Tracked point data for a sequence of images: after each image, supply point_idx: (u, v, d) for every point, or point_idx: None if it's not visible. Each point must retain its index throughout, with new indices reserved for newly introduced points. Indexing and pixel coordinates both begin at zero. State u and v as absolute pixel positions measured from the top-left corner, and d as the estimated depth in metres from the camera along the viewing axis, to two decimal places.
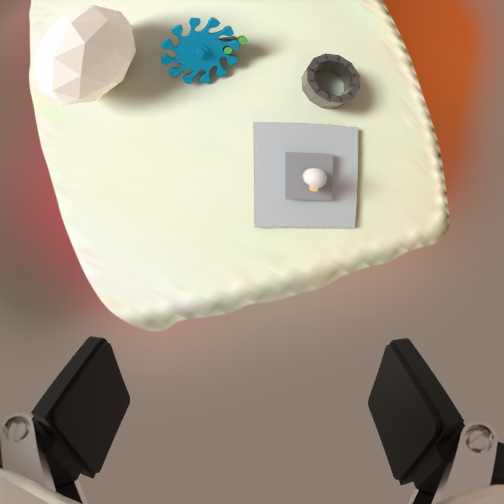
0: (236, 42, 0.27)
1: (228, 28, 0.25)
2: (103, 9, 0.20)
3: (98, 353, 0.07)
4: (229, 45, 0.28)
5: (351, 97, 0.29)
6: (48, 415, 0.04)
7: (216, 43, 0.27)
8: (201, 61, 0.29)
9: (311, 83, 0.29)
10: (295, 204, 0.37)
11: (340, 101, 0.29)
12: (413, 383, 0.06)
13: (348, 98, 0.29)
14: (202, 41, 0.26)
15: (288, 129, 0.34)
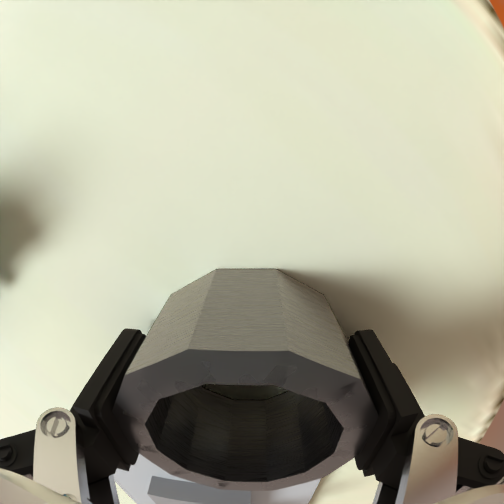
0: None
1: None
2: None
3: (136, 344, 0.08)
4: None
5: (312, 478, 0.07)
6: (92, 407, 0.05)
7: None
8: None
9: (149, 454, 0.06)
10: None
11: (266, 489, 0.07)
12: (370, 372, 0.07)
13: (299, 482, 0.07)
14: None
15: None
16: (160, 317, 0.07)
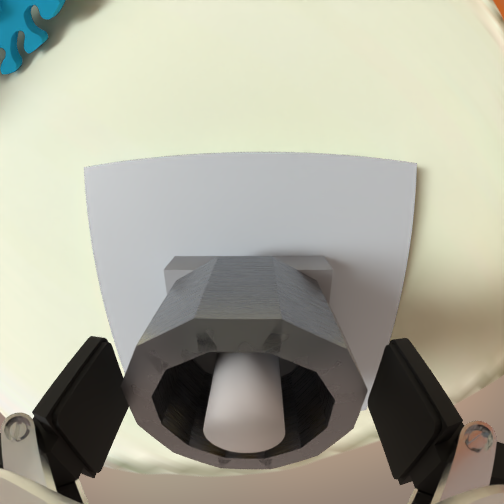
0: None
1: None
2: None
3: (99, 353, 0.07)
4: None
5: (308, 455, 0.08)
6: (49, 415, 0.04)
7: None
8: None
9: (154, 429, 0.07)
10: None
11: (264, 467, 0.08)
12: (412, 383, 0.06)
13: (295, 460, 0.08)
14: None
15: (181, 179, 0.10)
16: (167, 298, 0.08)
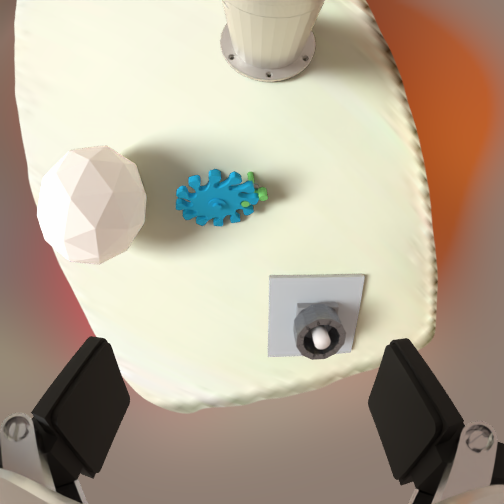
0: (255, 198, 0.33)
1: (250, 186, 0.31)
2: (102, 165, 0.25)
3: (98, 353, 0.07)
4: (248, 200, 0.33)
5: (334, 353, 0.37)
6: (48, 415, 0.04)
7: (234, 198, 0.32)
8: (216, 211, 0.34)
9: (300, 347, 0.36)
10: None
11: (323, 357, 0.37)
12: (413, 383, 0.06)
13: (331, 354, 0.37)
14: (220, 195, 0.32)
15: (301, 283, 0.39)
16: (303, 315, 0.37)
